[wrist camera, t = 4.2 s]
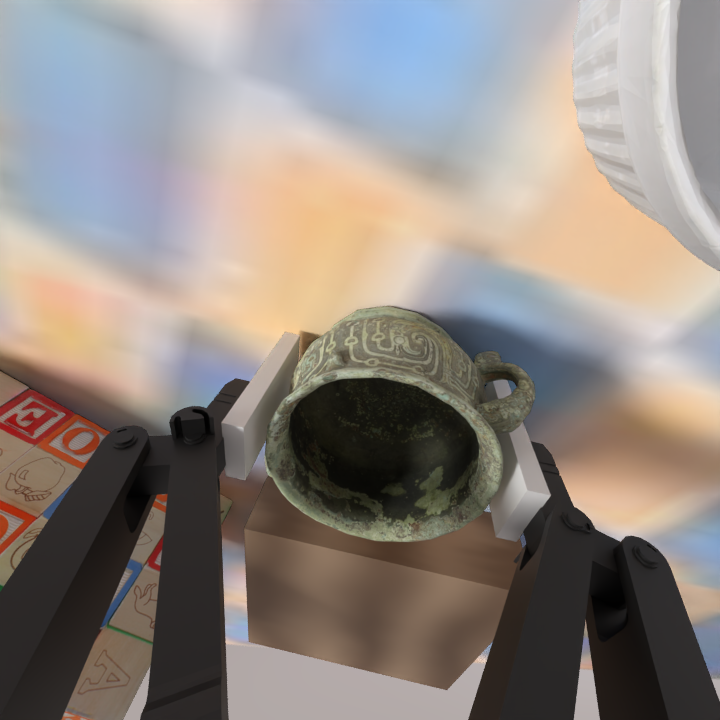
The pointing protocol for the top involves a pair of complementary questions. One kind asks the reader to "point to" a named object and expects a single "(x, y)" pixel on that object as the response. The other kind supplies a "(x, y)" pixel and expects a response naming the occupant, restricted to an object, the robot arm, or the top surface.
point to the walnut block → (374, 593)
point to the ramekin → (655, 109)
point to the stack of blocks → (34, 508)
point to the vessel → (393, 428)
